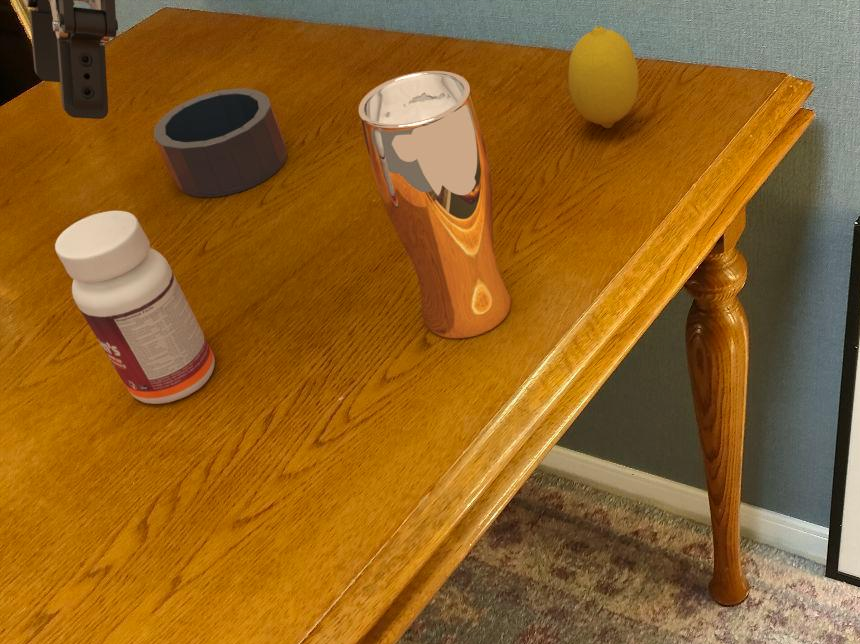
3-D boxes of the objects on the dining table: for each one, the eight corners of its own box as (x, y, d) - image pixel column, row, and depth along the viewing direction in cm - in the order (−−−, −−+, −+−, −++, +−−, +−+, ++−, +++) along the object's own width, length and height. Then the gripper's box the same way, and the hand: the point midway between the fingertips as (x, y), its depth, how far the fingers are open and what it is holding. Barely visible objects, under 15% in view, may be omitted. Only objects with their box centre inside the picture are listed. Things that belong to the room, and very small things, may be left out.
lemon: (567, 144, 81) (553, 44, 75) (585, 110, 85) (573, 12, 79) (633, 145, 80) (624, 43, 74) (649, 110, 83) (642, 10, 77)
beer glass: (493, 349, 65) (442, 131, 54) (400, 337, 68) (332, 125, 56) (532, 286, 69) (492, 69, 58) (443, 276, 72) (388, 67, 60)
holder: (153, 188, 87) (129, 139, 84) (227, 131, 92) (208, 83, 89) (236, 205, 83) (215, 154, 80) (310, 144, 88) (293, 94, 85)
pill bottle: (118, 378, 70) (31, 236, 61) (197, 337, 71) (124, 193, 63) (149, 421, 66) (62, 276, 57) (232, 376, 68) (159, 229, 59)
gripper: (-60, -275, 52) (-21, 65, 60) (-23, -279, 42) (17, 126, 51) (95, -239, 56) (111, 76, 64) (162, -236, 46) (170, 134, 55)
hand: (70, 97), depth 57 cm, fingers open, 8 cm apart
